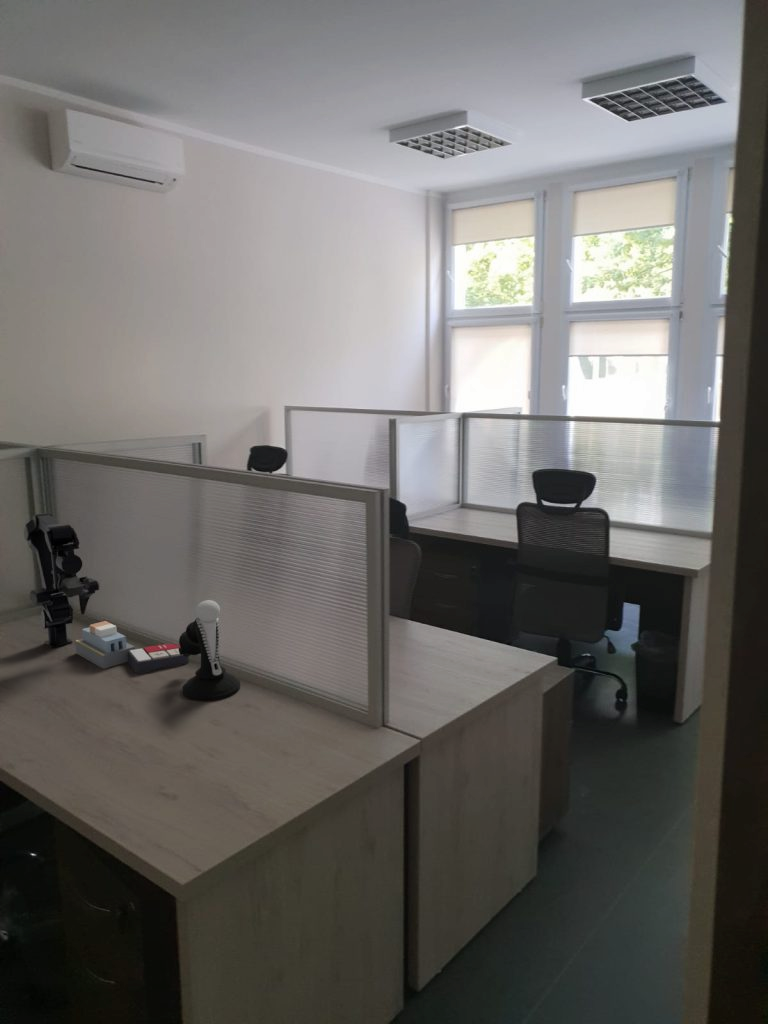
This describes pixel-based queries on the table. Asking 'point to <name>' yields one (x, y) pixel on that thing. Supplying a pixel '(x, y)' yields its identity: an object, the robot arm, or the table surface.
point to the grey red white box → (156, 658)
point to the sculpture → (206, 657)
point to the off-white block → (106, 630)
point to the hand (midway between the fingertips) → (67, 617)
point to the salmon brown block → (93, 626)
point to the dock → (102, 654)
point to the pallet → (105, 640)
